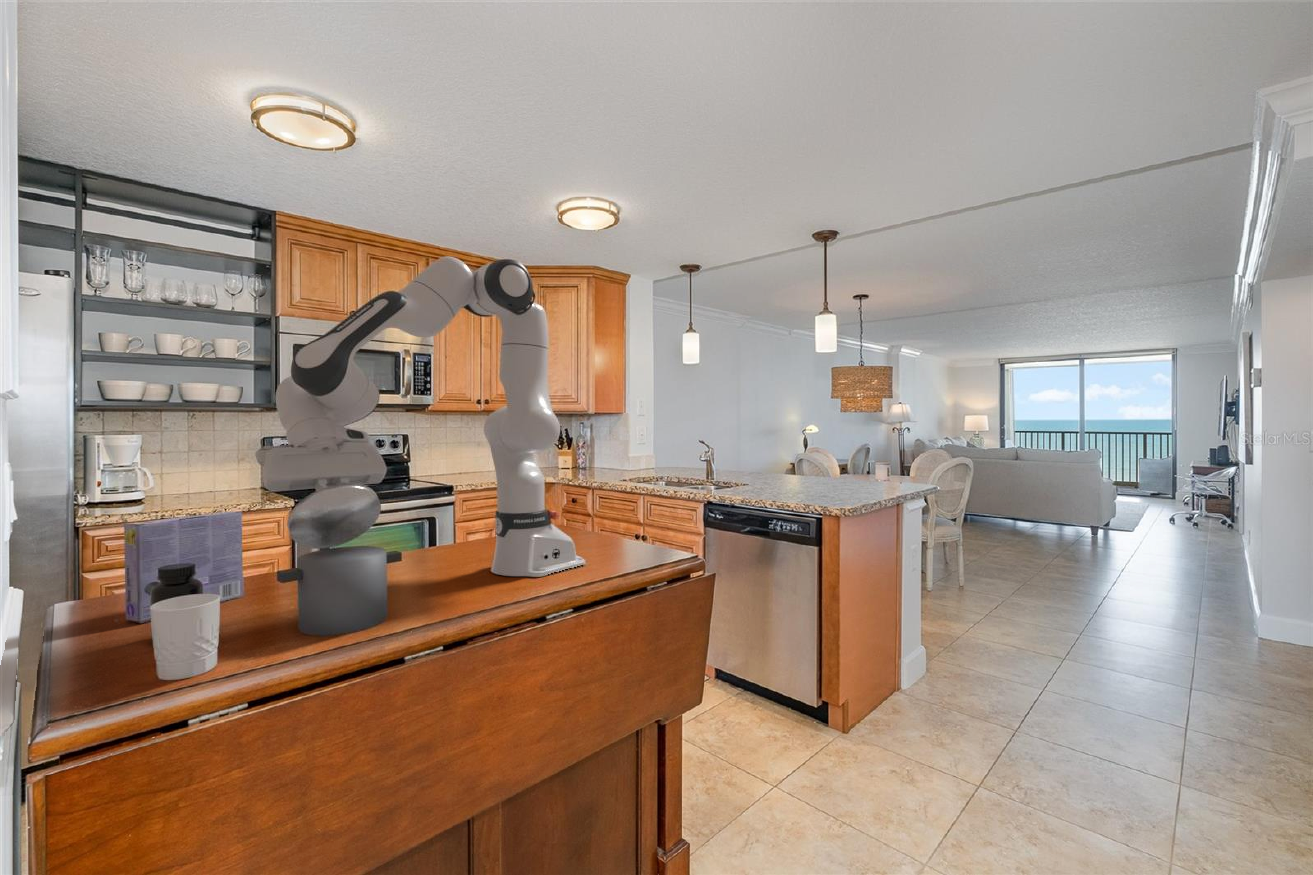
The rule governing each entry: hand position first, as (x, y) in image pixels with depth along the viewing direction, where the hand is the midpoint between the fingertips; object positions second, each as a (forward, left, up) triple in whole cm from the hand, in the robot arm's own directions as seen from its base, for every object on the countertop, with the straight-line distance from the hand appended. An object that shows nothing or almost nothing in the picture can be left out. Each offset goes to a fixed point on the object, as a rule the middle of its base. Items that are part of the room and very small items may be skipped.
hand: (338, 501), depth 106 cm
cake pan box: (+21, -26, -22) cm, 40 cm away
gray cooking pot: (0, +2, -21) cm, 21 cm away
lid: (0, -1, -3) cm, 3 cm away
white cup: (+22, +10, -21) cm, 32 cm away
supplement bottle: (+23, -7, -21) cm, 32 cm away
